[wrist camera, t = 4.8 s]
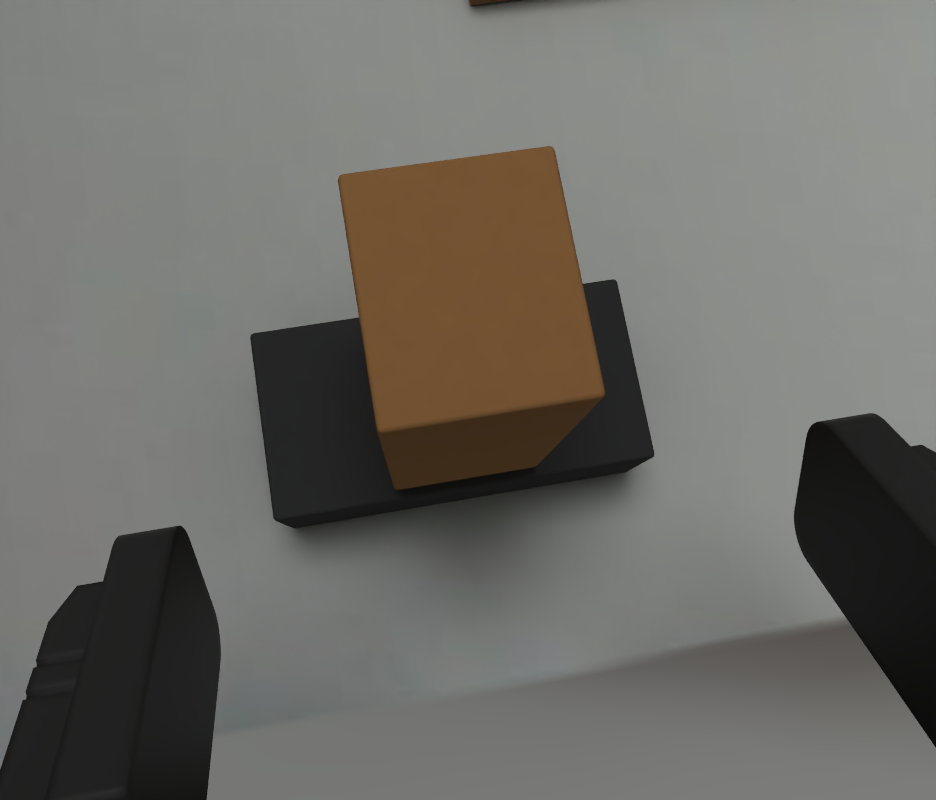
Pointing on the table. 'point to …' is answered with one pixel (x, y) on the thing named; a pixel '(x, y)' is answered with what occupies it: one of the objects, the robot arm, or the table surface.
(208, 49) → the table surface
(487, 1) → the chalkboard
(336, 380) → the eraser
